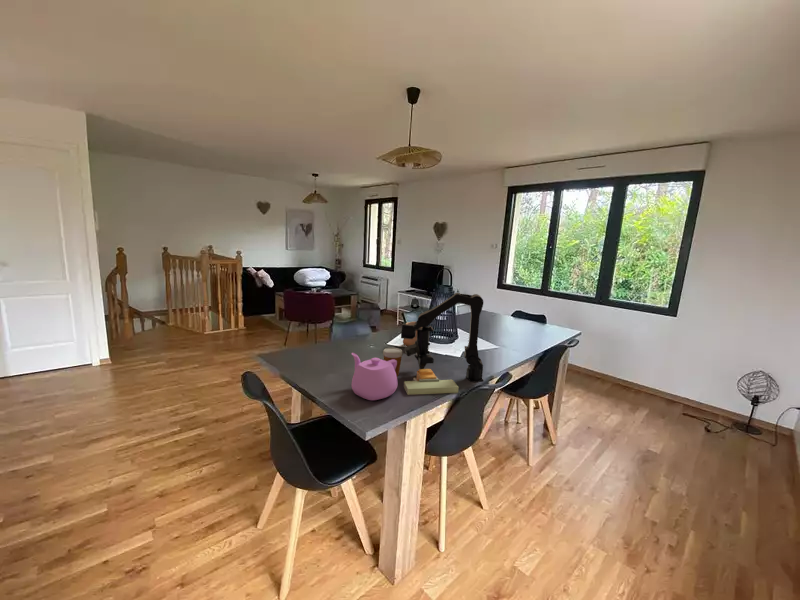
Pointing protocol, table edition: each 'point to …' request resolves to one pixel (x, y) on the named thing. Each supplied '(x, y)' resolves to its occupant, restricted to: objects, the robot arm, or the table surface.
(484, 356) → the table surface
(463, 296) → the robot arm
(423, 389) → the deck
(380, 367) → the teapot
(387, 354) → the disposable coffee cup
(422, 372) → the orange block with panel
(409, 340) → the ceramic jug
